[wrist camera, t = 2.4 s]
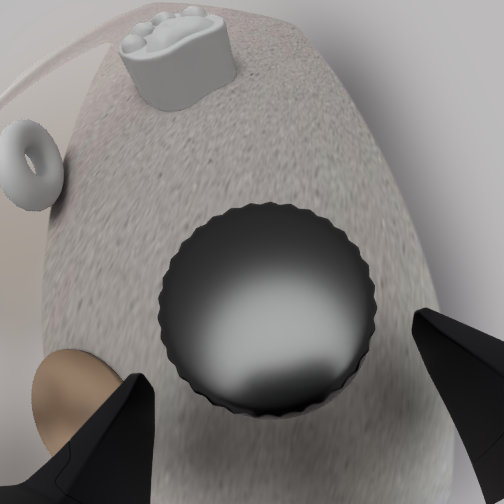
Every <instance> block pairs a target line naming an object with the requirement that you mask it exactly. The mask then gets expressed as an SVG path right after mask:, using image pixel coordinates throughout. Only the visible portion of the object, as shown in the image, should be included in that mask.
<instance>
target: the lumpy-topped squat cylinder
mask: <svg viewBox="0 0 504 504" xmlns="http://www.w3.org/2000/svg"><path fill="white" fill-rule="evenodd" d="M118 52H119V55H120V57H121V59H122V61H123V63H124V65H125V67H126V69H127V71H128V72H129V74H130V76H131V78H132V80H133V82H134V84H135V86H136V88H137V90H138V91H139V93H140V95H141V97H142V98H143V99H144V100H145V101H146V102H147V103H149V104H150V105H152V106H153V107H155V108H157V109H159V110H161V111H166V112H173V111H180V110H183V109H186V108H188V107H190V106H192V105H193V104H195V103H196V102H198V101H199V100H200V99H202V98H203V97H204V96H206V95H207V94H209V93H211V92H212V91H214V90H217V89H219V88H221V87H223V86H225V85H227V84H229V83H230V82H232V81H233V80H234V79H235V77H236V69H235V64H234V60H233V55H232V50H231V46H230V41H229V37H228V32H227V28H226V23H225V21H224V19H223V18H221V17H219V16H216V15H213V14H208V13H206V12H205V10H204V9H202V8H201V7H198V6H189V7H187V8H186V9H185V10H184V11H182V12H181V13H179V14H171V13H169V12H165V11H164V12H160V13H158V14H156V15H155V16H154V17H153V19H151V20H150V21H149V22H147V23H146V22H140V23H138V24H136V25H135V26H134V28H133V30H132V32H131V33H130V34H129V35H127V36H126V37H125V38H124V39H123V41H122V42H121V44H120V46H119V49H118Z"/></svg>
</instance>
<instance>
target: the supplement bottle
mask: <svg viewBox="0 0 504 504" xmlns="http://www.w3.org/2000/svg"><path fill="white" fill-rule="evenodd" d="M374 292H375V285H374V283H373V281H372V280H371V279H370V277H369V265H368V264H367V263H366V262H365V261H364V260H363V259H362V258H361V256H360V251H359V248H358V247H357V246H356V245H355V244H353V243H352V242H350V241H349V240H348V238H347V235H346V234H345V232H344V231H342V230H340V229H338V228H336V227H334V226H333V224H332V223H331V222H330V221H329V220H328V219H326V218H323V217H319V216H317V215H315V213H314V212H312V211H311V210H308V209H298V208H297V207H295V206H294V205H292V204H284V205H278V204H276V203H273V202H268V203H264V204H261V205H259V204H252V203H250V204H248V205H246V206H244V207H242V208H231V209H229V210H228V211H227V212H225V213H224V214H223V215H218V216H214V217H212V218H211V219H210V220H209V221H208V222H207V224H205V225H203V226H200V227H198V228H196V230H195V231H194V232H193V234H192V236H191V237H190V238H188V239H187V240H185V241H184V242H182V244H181V246H180V249H179V252H178V253H177V254H176V255H175V256H174V257H173V258H172V259H171V261H170V266H169V270H168V271H167V272H166V274H165V275H164V277H163V289H162V291H161V293H160V295H159V297H158V299H159V305H160V311H159V313H158V321H159V324H160V326H161V340H162V342H163V344H164V345H165V346H166V349H167V356H168V359H169V360H170V361H171V362H172V363H173V364H174V365H175V366H176V369H177V372H178V374H179V377H181V378H182V379H183V380H186V381H187V382H189V384H190V386H191V388H192V389H193V391H194V392H195V393H197V394H199V395H203V396H205V397H206V398H207V399H208V400H209V402H210V403H211V404H212V405H215V406H221V407H225V408H226V409H228V410H229V411H230V412H232V413H233V414H242V415H245V416H249V417H253V418H259V419H275V420H276V419H287V418H292V417H297V416H301V415H304V414H307V413H309V412H312V411H314V410H316V409H318V408H320V407H322V406H324V405H326V404H327V403H329V402H330V401H331V400H333V399H334V398H335V397H337V396H338V395H339V394H340V393H341V392H342V391H343V390H344V389H345V388H346V387H347V386H348V385H349V384H350V383H351V381H352V380H353V379H354V377H355V376H356V374H357V373H358V371H359V370H360V368H361V366H362V364H363V362H364V360H365V357H366V354H367V353H368V351H369V345H370V340H371V336H372V335H373V333H374V331H375V323H374V316H375V314H376V311H377V305H376V302H375V299H374Z"/></svg>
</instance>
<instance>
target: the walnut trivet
mask: <svg viewBox="0 0 504 504" xmlns="http://www.w3.org/2000/svg"><path fill="white" fill-rule="evenodd" d="M122 382H123V381H122V380H121V379H120V377H119V376H118V375H117V374H116V373H115V372H114V371H113V370H112V369H111V367H109V366H108V365H107V364H106V363H105V362H103V361H102V360H100V359H99V358H97V357H96V356H94V355H92V354H90V353H87V352H84V351H79V350H71V349H63V350H58V351H55V352H53V353H51V354H50V355H48V356H47V357H46V358H45V359H44V360H43V361H42V363H41V364H40V366H39V367H38V369H37V371H36V374H35V377H34V380H33V385H32V410H33V415H34V420H35V423H36V426H37V429H38V432H39V434H40V437H41V439H42V441H43V443H44V445H45V446H46V448H47V450H48V451H49V453H50V454H51V456H52V457H53V456H54V455H55V454H56V453H57V452H58V451H59V450H60V449H61V448H62V447H63V446H64V445H65V444H66V443H67V442H68V441H70V438H71V437H72V436H73V435H74V434H75V433H76V432H77V431H78V430H79V429H80V428H81V427H82V425H83V424H84V423H85V422H86V421H87V420H88V419H89V418H90V417H91V416H92V415H93V414H94V413H95V411H96V410H97V409H98V408H99V407H100V406H101V405H102V404H103V403H104V402H105V401H106V400H107V399H108V397H109V396H110V395H111V394H112V393H113V392H114V391H115V390H116V389H117V388H118V387H119V386H120V385H121V383H122Z"/></svg>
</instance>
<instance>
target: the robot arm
mask: <svg viewBox="0 0 504 504" xmlns="http://www.w3.org/2000/svg"><path fill="white" fill-rule="evenodd" d="M412 336H413V338H414V340H415V343H416V345H417V347H418V350H419V352H420V354H421V357H422V359H423V361H424V364H425V366H426V368H427V371H428V373H429V375H430V377H431V379H432V380H433V382H434V384H435V386H436V388H437V390H438V392H439V394H440V396H441V398H442V399H443V401H444V403H445V405H446V407H447V409H448V411H449V413H450V416H451V418H452V420H453V422H454V424H455V426H456V428H457V430H458V432H459V435H460V437H461V439H462V441H463V444H464V446H465V448H466V451H467V453H468V455H469V458H470V460H471V463H472V465H473V468H474V471H475V473H476V476H477V479H478V481H479V484H480V487H481V490H482V493H483V496H484V499H485V502H486V504H495V503H496V502H498V501H500V500H502V499H504V341H501V340H499V339H497V338H495V337H493V336H490V335H488V334H486V333H484V332H481V331H479V330H477V329H475V328H472V327H470V326H468V325H466V324H463V323H461V322H459V321H456V320H454V319H452V318H449V317H447V316H445V315H443V314H440V313H438V312H436V311H433V310H431V309H429V308H422V309H419V310H417V311H415V313H414V317H413V324H412ZM154 436H155V392H154V389H153V387H152V386H151V384H150V383H149V381H148V380H147V379H146V377H145V376H144V375H143V374H142V373H132V374H130V375H129V376H128V377H127V378H126V379H125V380H124V381H123V382H122V383H121V385H120V386H119V387H118V388H117V389H116V390H115V391H114V392H113V393H112V394H111V395H110V396H109V397H108V399H107V400H106V401H105V402H104V403H103V404H102V405H101V406H100V407H99V408H98V409H97V410H96V411H95V413H94V414H93V415H92V416H91V417H90V418H89V419H88V420H87V421H86V422H85V423H84V424H83V425H82V427H81V428H80V429H79V430H78V431H77V432H76V433H75V434H74V435H73V436H72V437H71V438H70V441H68V442H67V443H66V444H65V445H64V446H63V447H62V448H61V449H60V450H59V451H58V452H57V453H56V454H55V455H54V456H53V457H52V458H51V459H50V460H49V461H48V462H47V463H46V464H45V465H44V466H42V467H41V468H40V469H39V470H38V471H37V472H36V473H35V474H33V475H32V476H31V477H30V478H29V479H28V480H26V481H25V482H23V483H21V484H18V485H12V486H0V504H150V496H151V475H152V460H153V447H154Z"/></svg>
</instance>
